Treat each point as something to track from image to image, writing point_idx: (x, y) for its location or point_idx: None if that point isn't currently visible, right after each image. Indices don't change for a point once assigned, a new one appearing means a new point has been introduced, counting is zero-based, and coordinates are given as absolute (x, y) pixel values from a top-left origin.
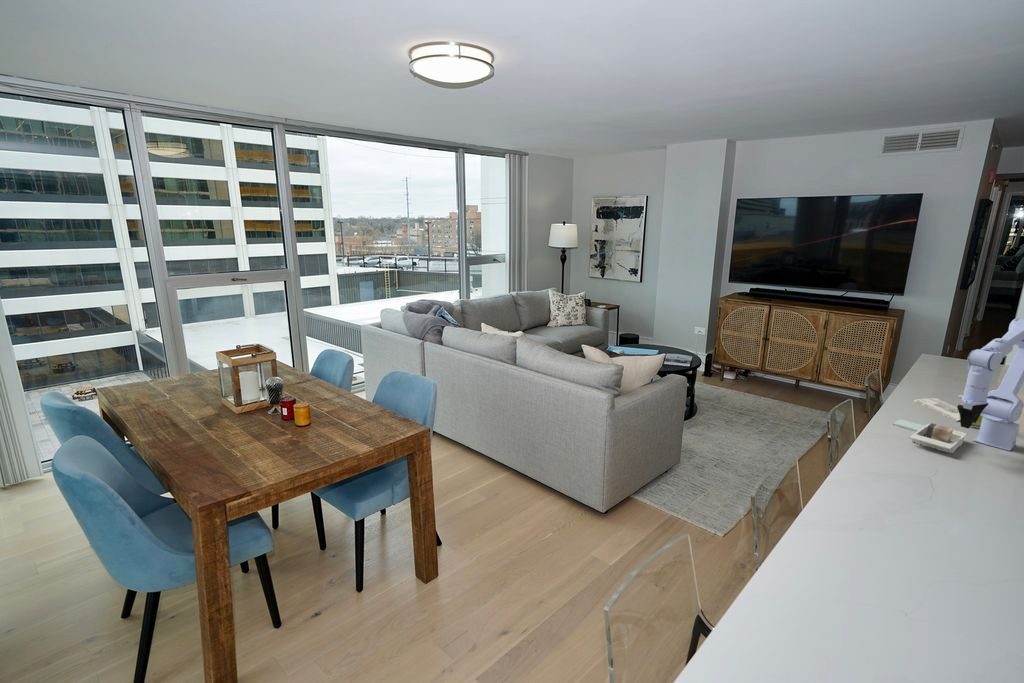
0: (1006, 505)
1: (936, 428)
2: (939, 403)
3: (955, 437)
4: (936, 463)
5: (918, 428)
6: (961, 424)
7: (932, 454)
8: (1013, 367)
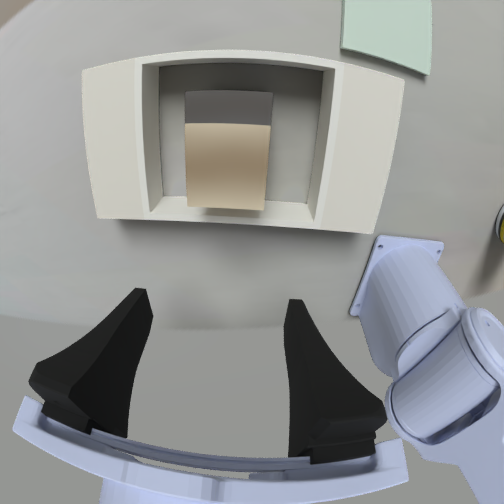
0: (25, 311)
1: (185, 139)
2: None
3: (314, 194)
4: (43, 195)
5: (369, 45)
6: (128, 298)
7: None
8: None
